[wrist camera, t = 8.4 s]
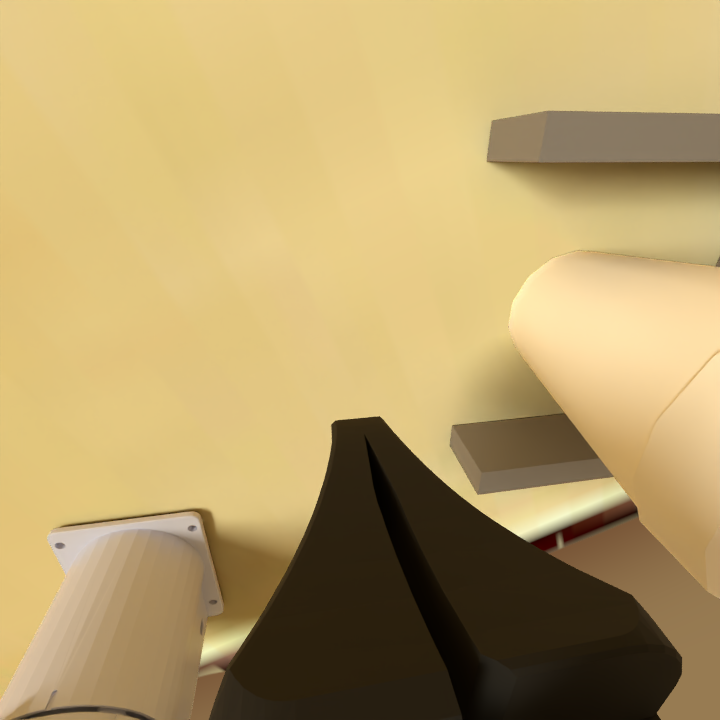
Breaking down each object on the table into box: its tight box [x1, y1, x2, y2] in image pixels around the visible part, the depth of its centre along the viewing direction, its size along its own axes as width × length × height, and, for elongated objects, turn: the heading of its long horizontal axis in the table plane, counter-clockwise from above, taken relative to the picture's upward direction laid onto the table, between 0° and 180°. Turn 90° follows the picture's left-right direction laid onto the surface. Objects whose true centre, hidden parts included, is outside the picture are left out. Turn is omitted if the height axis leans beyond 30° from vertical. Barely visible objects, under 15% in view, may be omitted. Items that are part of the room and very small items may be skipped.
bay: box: [450, 111, 720, 495], centre depth 20 cm, size 17×16×4 cm
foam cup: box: [508, 250, 720, 599], centre depth 15 cm, size 10×9×13 cm
